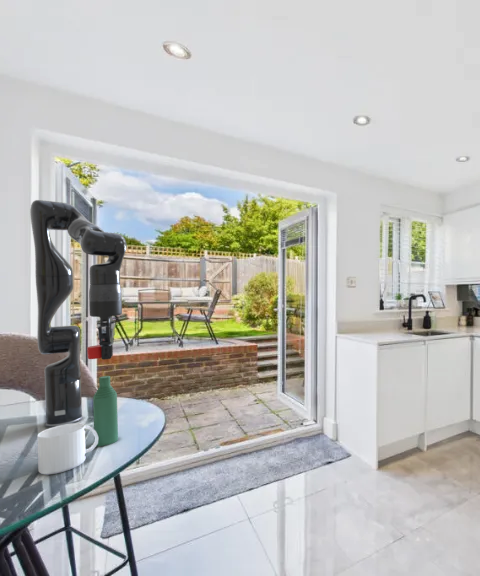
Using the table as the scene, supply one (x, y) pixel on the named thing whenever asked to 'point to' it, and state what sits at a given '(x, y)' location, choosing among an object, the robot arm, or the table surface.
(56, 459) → the mug
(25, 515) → the table surface
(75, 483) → the table surface
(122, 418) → the table surface
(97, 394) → the bottle
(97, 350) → the cap
